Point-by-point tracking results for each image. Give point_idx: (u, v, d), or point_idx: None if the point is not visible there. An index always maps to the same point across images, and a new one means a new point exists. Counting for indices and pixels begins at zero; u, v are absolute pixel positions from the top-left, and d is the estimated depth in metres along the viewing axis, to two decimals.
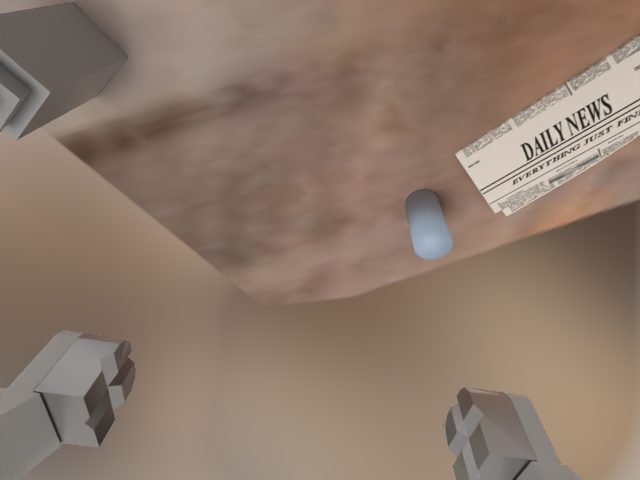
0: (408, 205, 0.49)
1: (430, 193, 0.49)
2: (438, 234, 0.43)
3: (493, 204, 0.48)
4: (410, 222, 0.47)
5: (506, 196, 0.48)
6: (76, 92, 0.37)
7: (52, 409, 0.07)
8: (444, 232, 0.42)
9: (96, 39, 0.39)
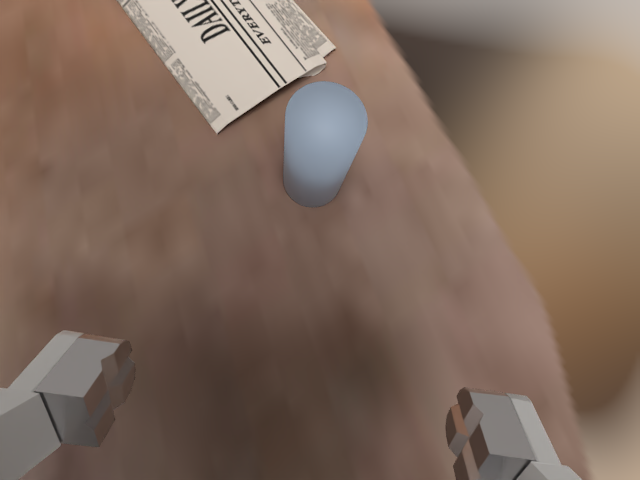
0: (302, 197, 0.26)
1: None
2: (298, 109, 0.20)
3: (306, 65, 0.29)
4: (311, 182, 0.23)
5: (292, 49, 0.29)
6: None
7: (52, 409, 0.07)
8: (293, 98, 0.20)
9: None
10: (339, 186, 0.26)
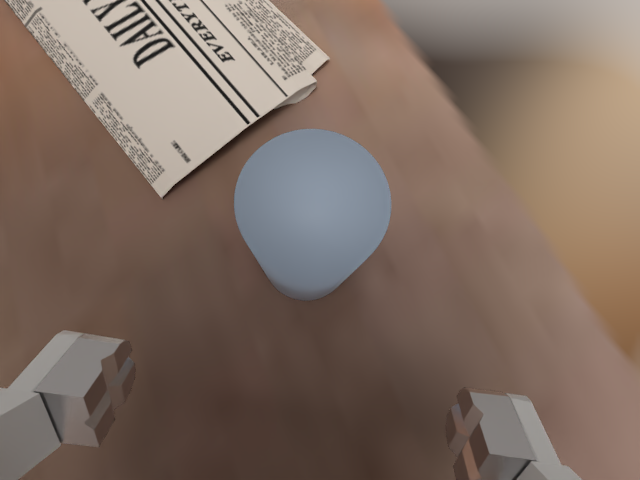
0: (290, 294, 0.17)
1: None
2: (259, 187, 0.10)
3: (287, 88, 0.20)
4: (299, 290, 0.14)
5: (265, 66, 0.20)
6: None
7: (52, 409, 0.07)
8: (248, 166, 0.11)
9: None
10: None
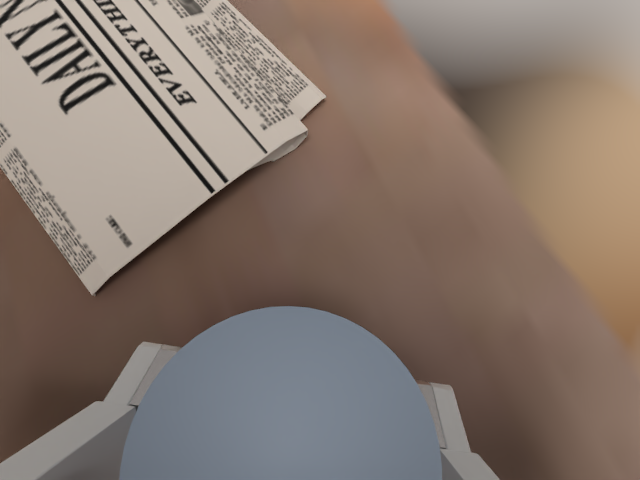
0: None
1: None
2: (174, 441, 0.05)
3: (267, 141, 0.15)
4: None
5: (237, 110, 0.15)
6: None
7: None
8: (153, 394, 0.05)
9: None
10: None
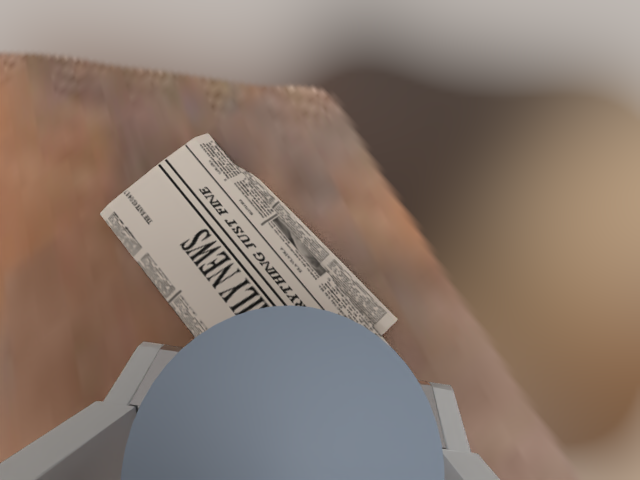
0: None
1: None
2: (176, 441, 0.05)
3: None
4: None
5: None
6: None
7: None
8: (155, 394, 0.05)
9: None
10: None
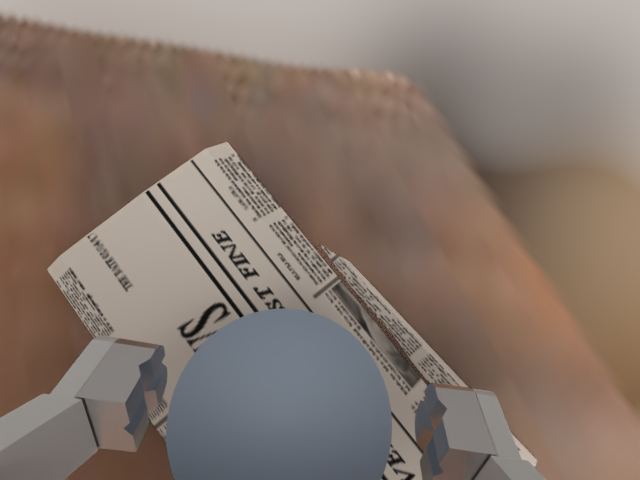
0: None
1: None
2: (204, 402, 0.07)
3: None
4: None
5: None
6: None
7: (93, 415, 0.07)
8: (190, 369, 0.07)
9: None
10: None
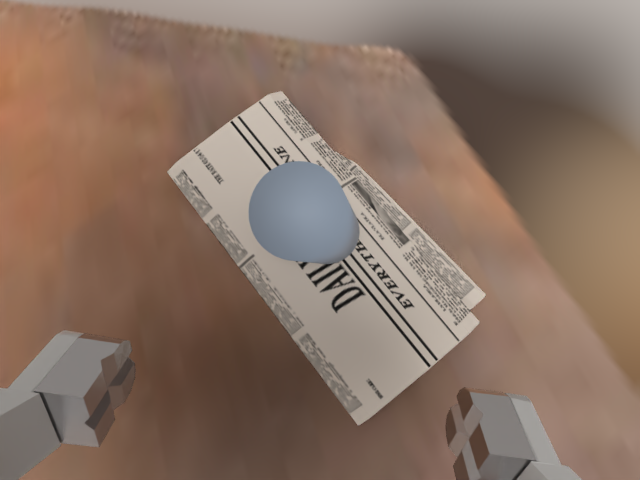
0: None
1: None
2: (263, 202, 0.17)
3: (458, 333, 0.24)
4: None
5: (439, 312, 0.25)
6: None
7: (52, 409, 0.07)
8: (257, 189, 0.17)
9: None
10: (349, 249, 0.22)
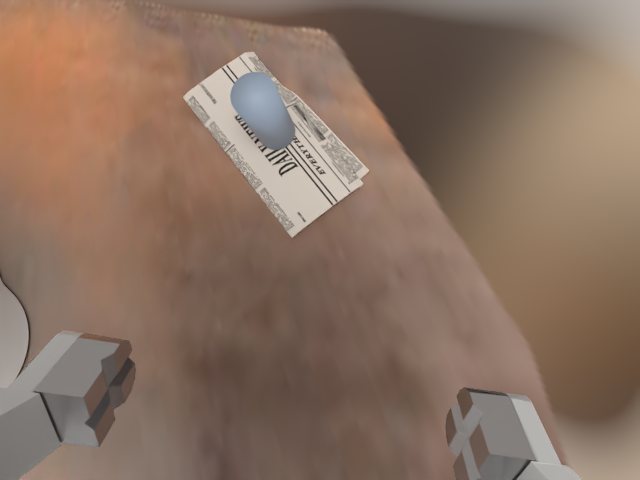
0: (266, 143, 0.42)
1: None
2: (237, 91, 0.35)
3: (350, 188, 0.43)
4: (260, 133, 0.38)
5: (339, 176, 0.43)
6: None
7: (52, 409, 0.07)
8: (234, 85, 0.35)
9: None
10: (286, 133, 0.41)
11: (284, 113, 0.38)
